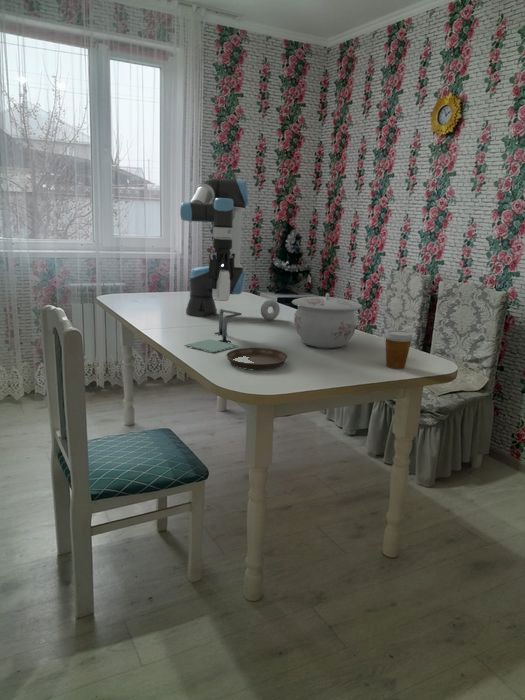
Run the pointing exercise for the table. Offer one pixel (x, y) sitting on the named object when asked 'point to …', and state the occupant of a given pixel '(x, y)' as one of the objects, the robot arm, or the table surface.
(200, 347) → the mat
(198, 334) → the table surface
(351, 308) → the chamber pot
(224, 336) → the dark grey angled piece
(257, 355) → the plant saucer
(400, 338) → the disposable coffee cup
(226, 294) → the can
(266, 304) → the donut
